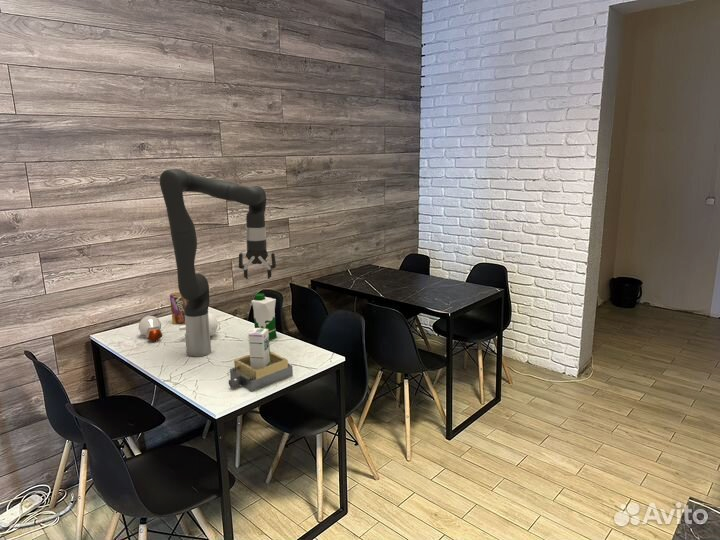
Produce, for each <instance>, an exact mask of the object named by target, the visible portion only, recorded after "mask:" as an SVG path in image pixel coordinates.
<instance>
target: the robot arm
mask: <svg viewBox="0 0 720 540" xmlns="http://www.w3.org/2000/svg"><path fill="white" fill-rule="evenodd" d="M159 186H160V190H161V193H162V197H163V200H164V204H165V208H166V213H167V218H168V223H169V231H170V236H171V242H172V247H173V251H174V258H175V263H176V270H177V271H176V274H177V287H178V292H180V294H181V296H182V297H183V298H184V299H186V300H188V302H187V305H186V306H185V308H184V313H185V323H186V324H185V325H186V330H185V333H184V338H185V339H184V340H185V349H186V350H185V351H186V357H187V356H189V357H195V358H196V357H197V358H198V357H204V356H207V355H209V354H210V353H211V352H212V345H211V336H210V329H209V316H208V313H209V307H210V285H209V281H208V279H207V278H206V276H205V275H204V274H201V273H196V270H195V269H196V266H195V261H196V254H197V249H198V238H197V232H196V227H195V223H194V221H193V220H192V217H191V216H190V214H189V212H188V210H187V208H186V205H185V200H184V193H199V194H200V193H201V194H205V195H208V196H210V197H212V198H215V199H220V200H225V201H231V202H236V203H239V204H242V205H245V206H248V211H247V213H246V217H245V220H246V236H245V237H246V253H245V252H239V255H238V269H239V270H240V269H242V270H243V277H244V278H245V279H246V280H249V269H248V268H249V267H250V265H251V264H252V265H262V264H263V265H264V267H266V269H267V270H266V273H267V280H270V279H271V278H272V274H273V273H272V270H273V269H275V268H276V267H277V261H276V252H274V251H273V252H268V251H267V249H268V248H267V231H266V218H265V216H266V215H265V214H266V213H265V212H266V206H267V194H266V191H265V189H264V188H263V187H262V186H259V185H254V186H246V185H240V184H239V183H236V182H233V181H227V180H222V179H221V180H220V179H215V178H209V177H205V176H204V177H203V176H201V175H198V174H194V173H191V172H189V171H186V170H184V169H181V168H180V169H179V168H171V169H165V170H164V171H162V173H161V174H160V176H159ZM245 257H246V258H247V259H248V261H247V262H246V264H245V265H244V263H243V262H244V259H245ZM268 257H269V259H271V264H270V262H269V261H268V259H267V258H268Z"/></svg>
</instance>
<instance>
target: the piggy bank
mask: <svg viewBox="0 0 720 540" xmlns="http://www.w3.org/2000/svg"><path fill="white" fill-rule="evenodd" d="M208 316H209V329H210V337H212V336H213V335H215V333H216V331H218V326H219V321H218V319H217V316H215V314H213V313H211V312H208ZM178 328H179V331H186V324H182V325H181V326H179V327H178Z"/></svg>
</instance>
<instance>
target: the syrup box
mask: <svg viewBox="0 0 720 540" xmlns="http://www.w3.org/2000/svg"><path fill="white" fill-rule="evenodd" d="M248 344H249V345H248V346H249V347H248V348H249V355H250V363H251V367H252V368H254V369H256V370H258V369H260V368H263V367H266V366H269V365H270V364H271V362H270V352H271V350H270V340H269V332H268V329H267V328H255V327H254V328H253V329H252V330H251V331H250V332H249V333H248Z"/></svg>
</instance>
